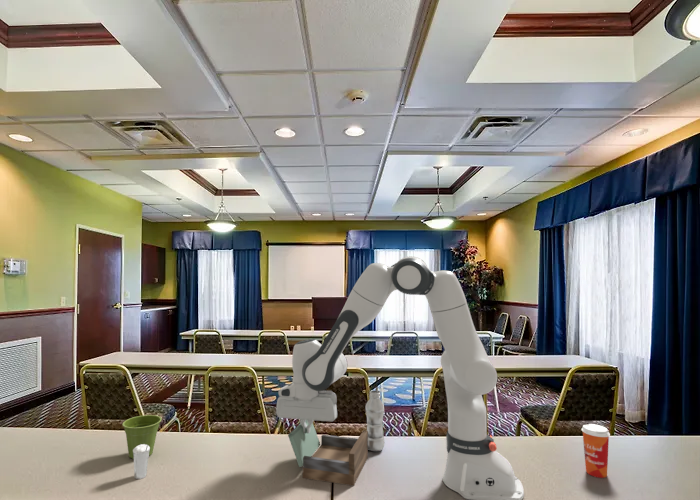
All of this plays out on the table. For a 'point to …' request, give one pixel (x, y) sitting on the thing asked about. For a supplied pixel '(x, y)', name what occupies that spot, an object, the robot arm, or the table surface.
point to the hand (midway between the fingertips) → (306, 432)
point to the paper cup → (596, 449)
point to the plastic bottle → (375, 421)
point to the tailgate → (303, 442)
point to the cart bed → (337, 459)
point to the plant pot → (141, 431)
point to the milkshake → (140, 460)
